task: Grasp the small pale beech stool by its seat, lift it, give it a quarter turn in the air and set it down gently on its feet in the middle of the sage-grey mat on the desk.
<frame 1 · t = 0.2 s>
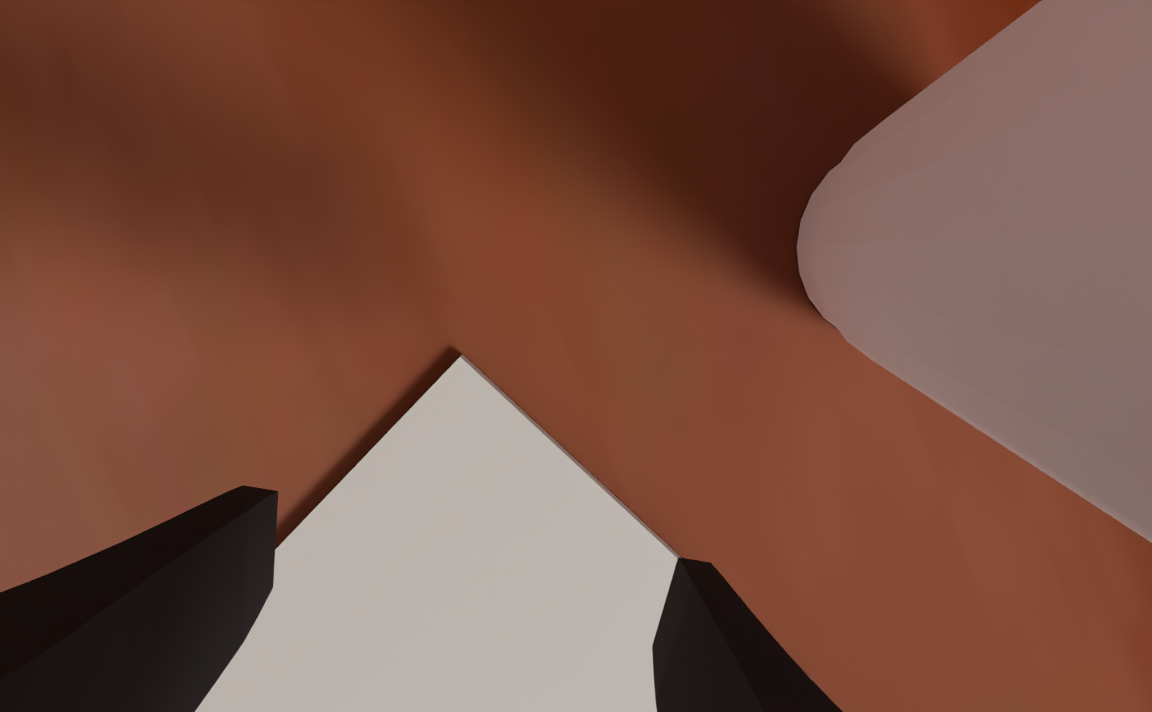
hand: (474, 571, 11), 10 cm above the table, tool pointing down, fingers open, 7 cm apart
mat: (458, 705, 23), on the table
cup: (894, 244, 21), on the table
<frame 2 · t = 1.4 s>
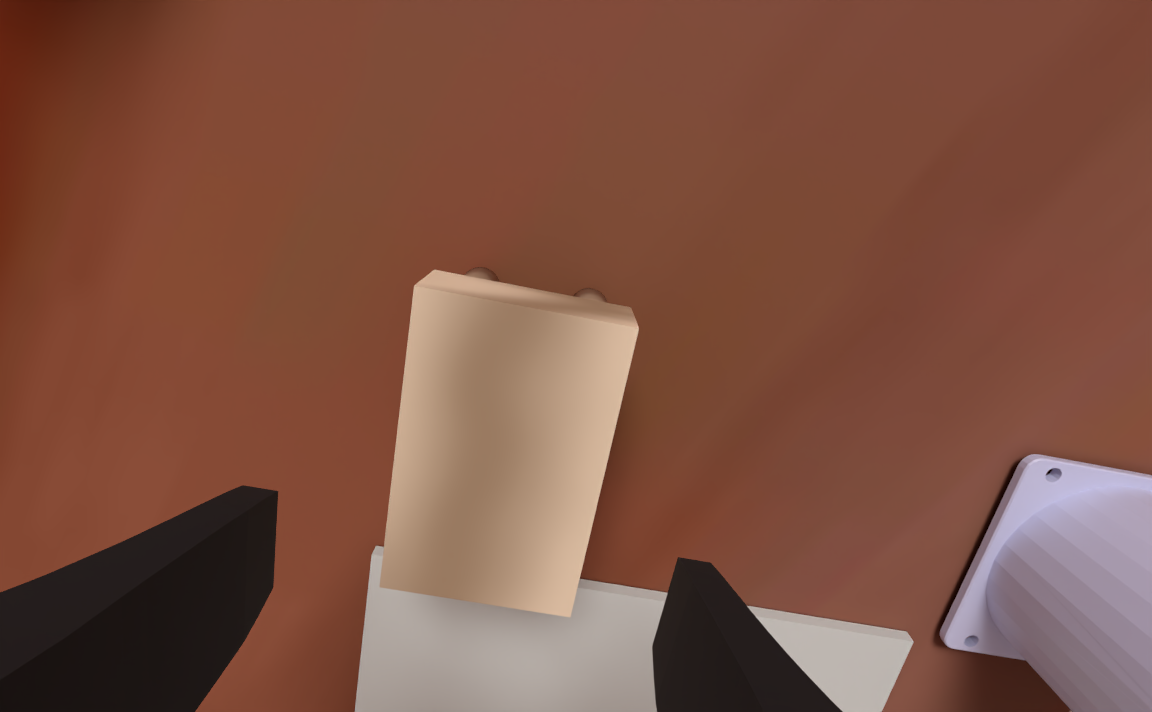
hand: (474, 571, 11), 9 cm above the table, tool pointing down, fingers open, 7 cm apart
stool: (519, 385, 20), on the table
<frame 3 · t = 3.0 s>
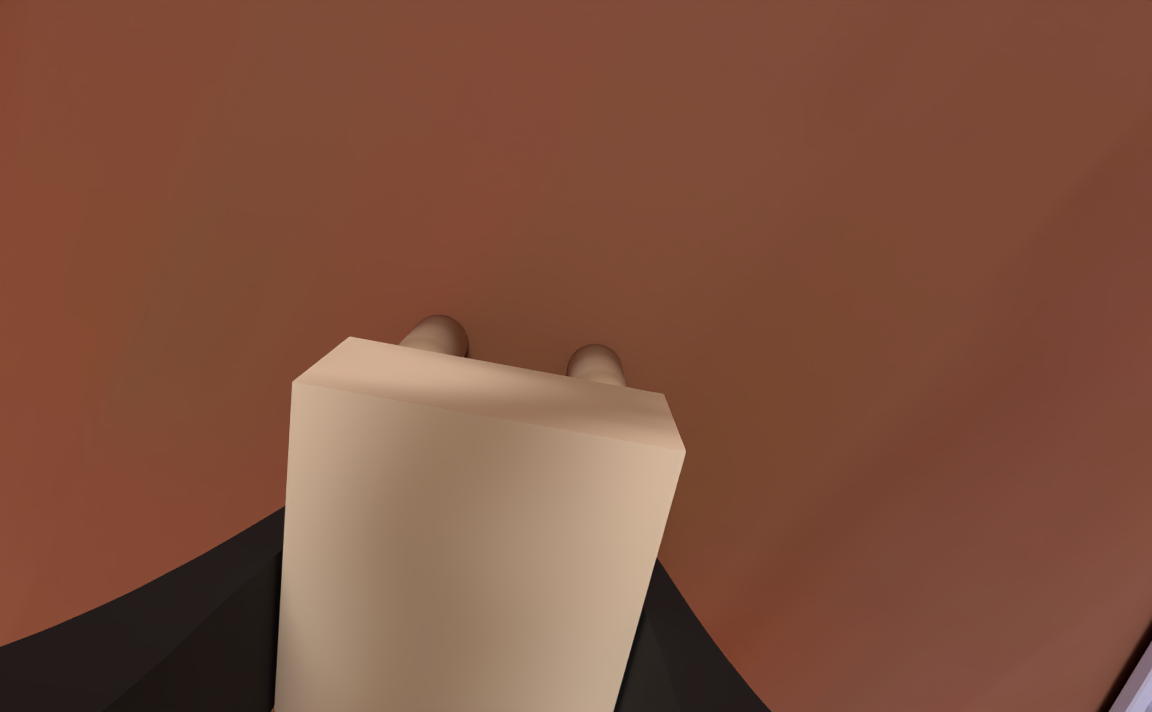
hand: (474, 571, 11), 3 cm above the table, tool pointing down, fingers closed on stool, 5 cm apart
stool: (496, 476, 14), on the table, touching gripper
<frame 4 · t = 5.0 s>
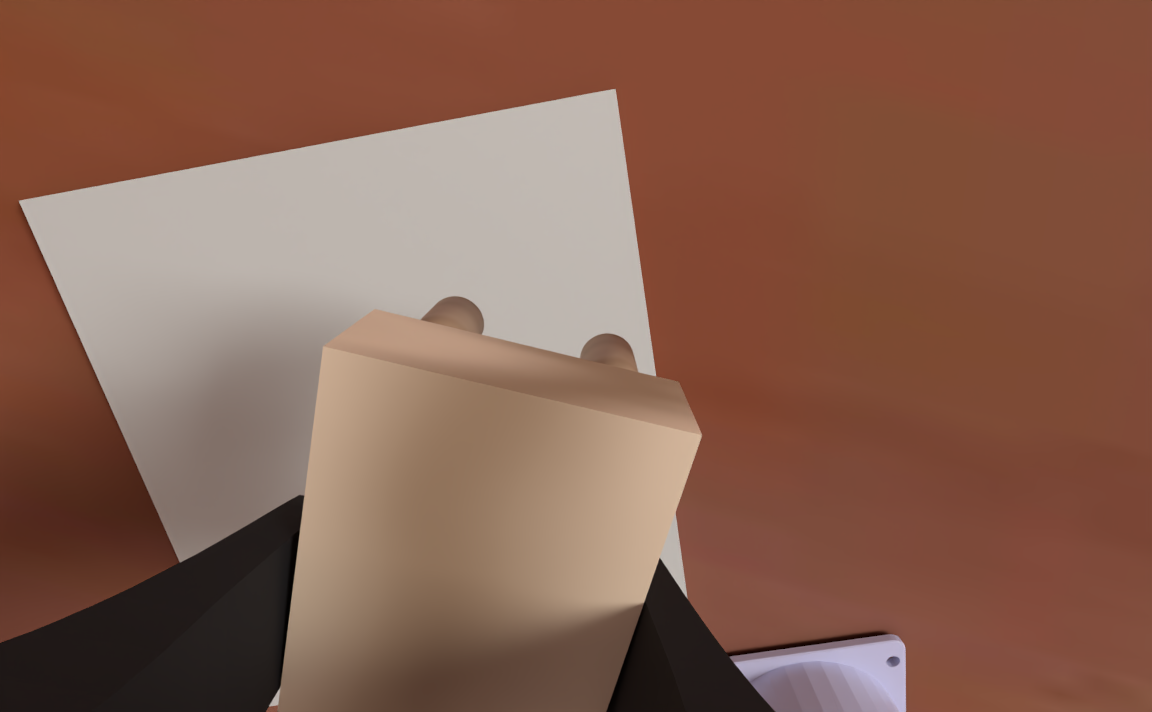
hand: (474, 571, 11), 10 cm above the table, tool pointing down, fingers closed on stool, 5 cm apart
mat: (403, 445, 21), on the table
stool: (504, 459, 14), point 6 cm above the table, touching gripper
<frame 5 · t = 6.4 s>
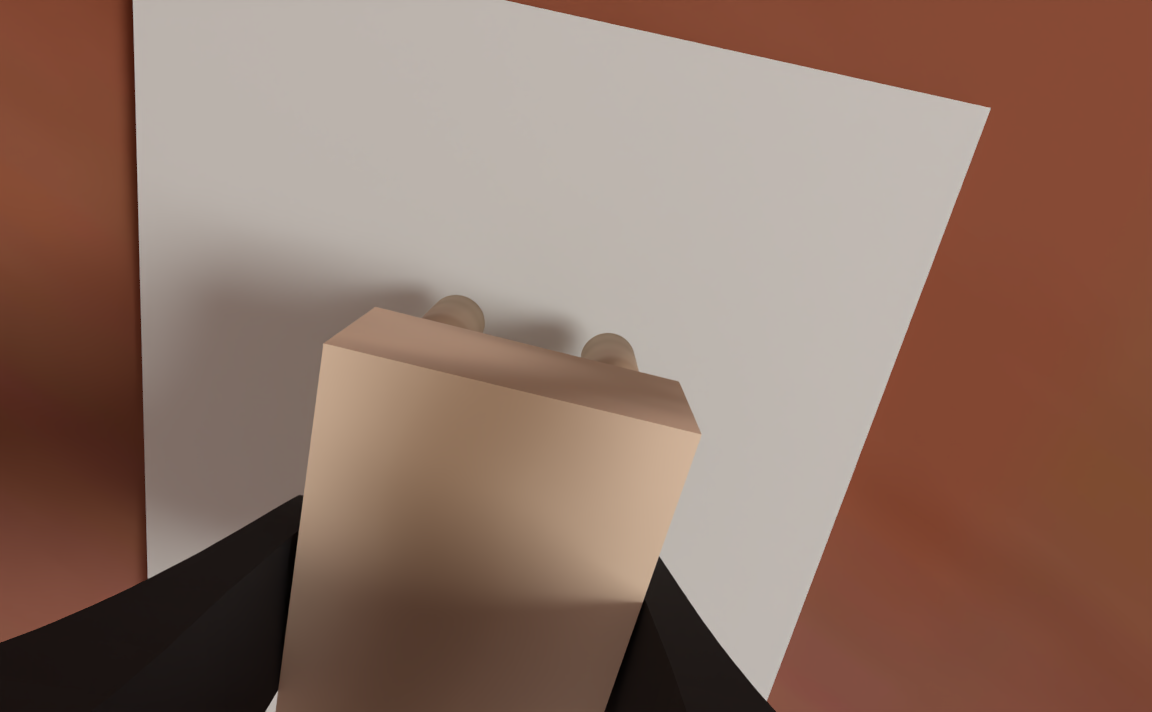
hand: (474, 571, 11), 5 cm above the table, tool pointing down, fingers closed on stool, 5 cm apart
mat: (506, 440, 16), on the table
stool: (504, 458, 14), point 2 cm above the table, touching gripper
when the fingers open (5 cm above the table, at t = 7.5 s): stool stays where it is, resting on mat.
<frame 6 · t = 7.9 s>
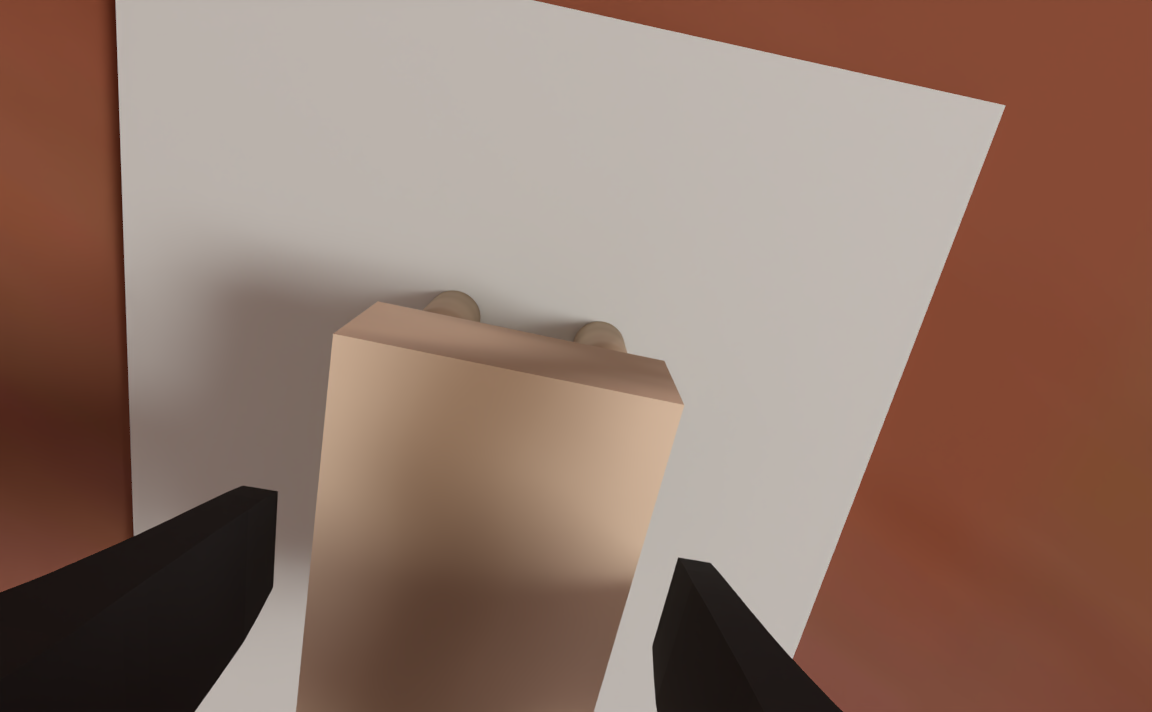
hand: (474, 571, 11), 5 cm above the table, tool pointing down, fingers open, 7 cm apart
mat: (504, 447, 15), on the table
stool: (504, 445, 15), resting on mat
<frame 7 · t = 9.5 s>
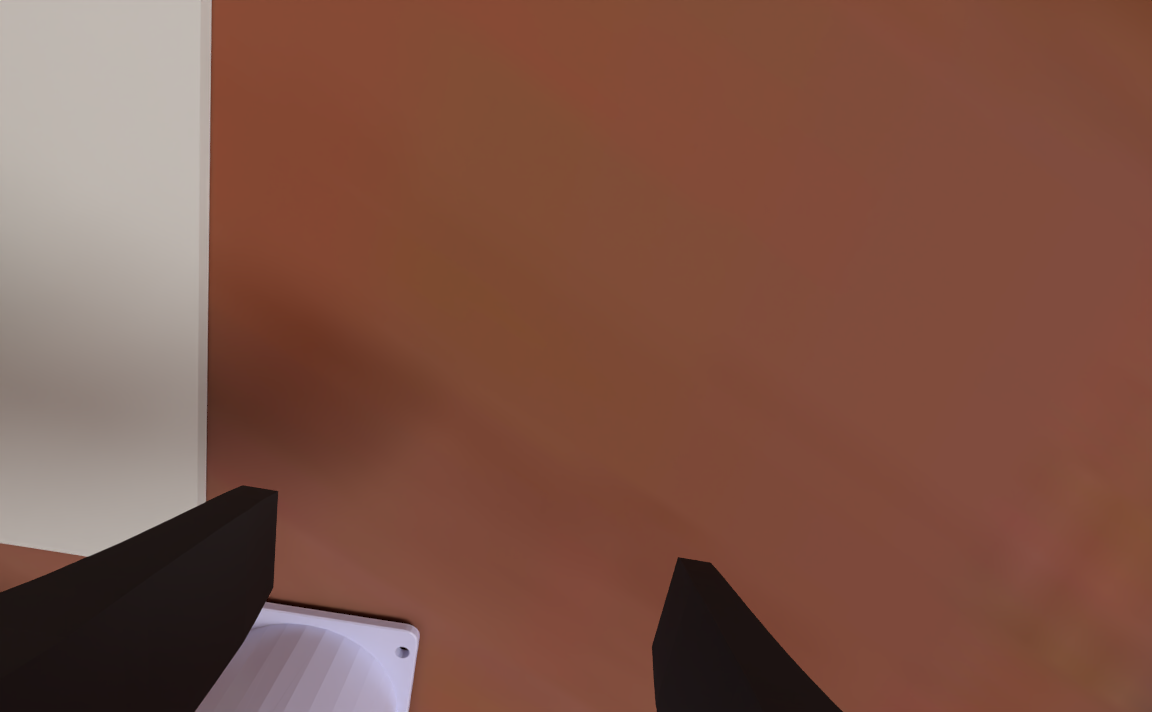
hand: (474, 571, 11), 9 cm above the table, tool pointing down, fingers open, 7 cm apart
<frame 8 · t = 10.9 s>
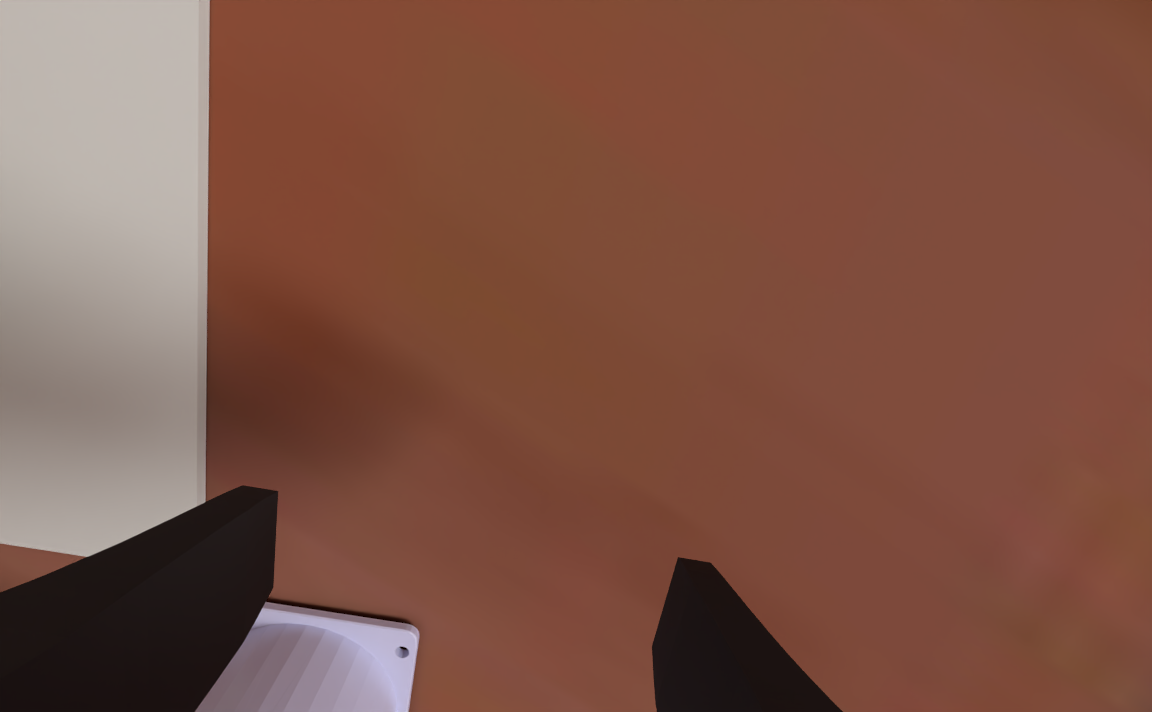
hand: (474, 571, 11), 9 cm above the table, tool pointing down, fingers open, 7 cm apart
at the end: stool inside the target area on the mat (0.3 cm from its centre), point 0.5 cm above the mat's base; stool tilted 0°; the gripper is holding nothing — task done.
